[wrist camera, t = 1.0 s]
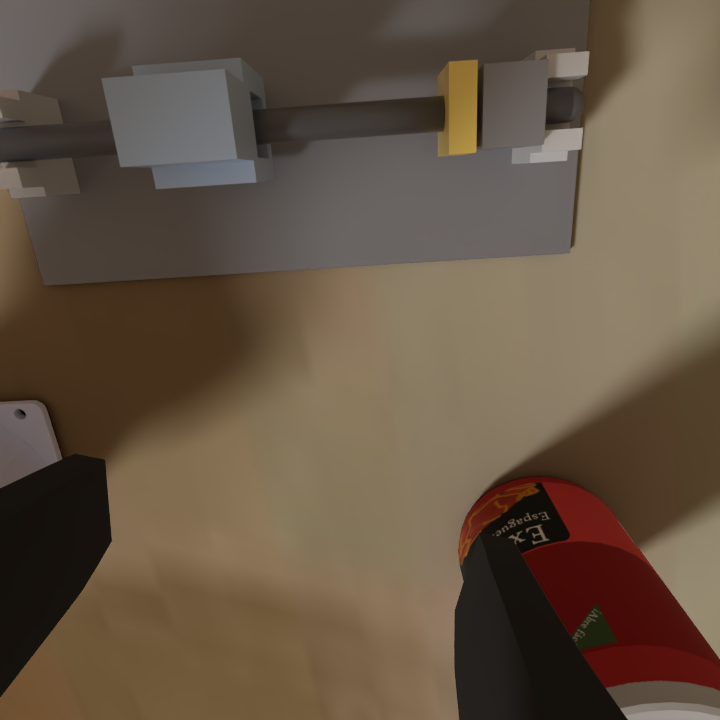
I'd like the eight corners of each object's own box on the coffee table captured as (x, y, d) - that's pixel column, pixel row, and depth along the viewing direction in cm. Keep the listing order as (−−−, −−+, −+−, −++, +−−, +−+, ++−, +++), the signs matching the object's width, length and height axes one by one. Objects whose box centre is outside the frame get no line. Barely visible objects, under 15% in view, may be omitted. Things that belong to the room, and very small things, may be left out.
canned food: (508, 445, 23) (623, 666, 13) (648, 512, 24) (855, 764, 14) (424, 562, 26) (464, 827, 15) (555, 618, 27) (674, 899, 16)
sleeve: (191, 186, 18) (125, 191, 13) (173, 84, 17) (94, 49, 12) (274, 180, 18) (240, 183, 13) (262, 77, 17) (220, 39, 12)
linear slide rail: (48, 284, 21) (-27, 311, 17) (-35, -7, 17) (-154, -59, 13) (567, 251, 20) (616, 271, 16) (591, -58, 16) (663, -130, 12)
